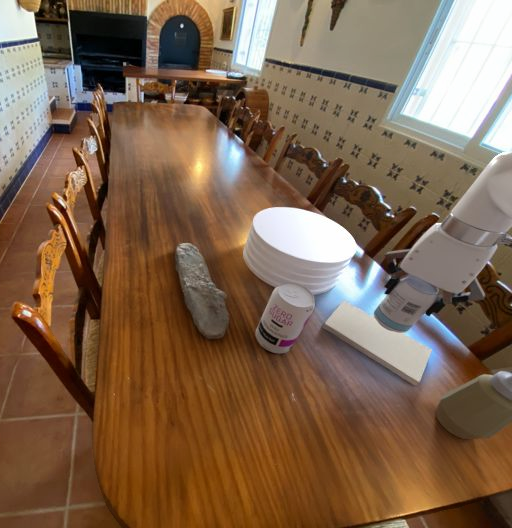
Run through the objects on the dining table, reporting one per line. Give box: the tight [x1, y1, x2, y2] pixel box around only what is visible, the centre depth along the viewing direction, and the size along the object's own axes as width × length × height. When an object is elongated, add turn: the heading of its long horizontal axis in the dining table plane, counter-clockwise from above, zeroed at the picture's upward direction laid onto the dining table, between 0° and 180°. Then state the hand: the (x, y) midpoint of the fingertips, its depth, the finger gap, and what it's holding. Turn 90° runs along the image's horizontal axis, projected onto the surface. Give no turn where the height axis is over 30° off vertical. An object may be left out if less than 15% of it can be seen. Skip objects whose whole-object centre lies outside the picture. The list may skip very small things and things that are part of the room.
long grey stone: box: [174, 242, 230, 340], centre depth 78 cm, size 35×5×10 cm
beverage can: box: [373, 274, 440, 334], centre depth 62 cm, size 7×7×12 cm
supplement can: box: [254, 282, 316, 354], centre depth 63 cm, size 8×8×15 cm
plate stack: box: [242, 206, 357, 296], centre depth 88 cm, size 28×28×12 cm
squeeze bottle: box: [435, 370, 512, 440], centre depth 50 cm, size 8×8×18 cm
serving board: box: [322, 299, 433, 387], centre depth 70 cm, size 20×12×2 cm, turn 43°
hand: (407, 301), depth 62 cm, fingers closed on beverage can, 7 cm apart
